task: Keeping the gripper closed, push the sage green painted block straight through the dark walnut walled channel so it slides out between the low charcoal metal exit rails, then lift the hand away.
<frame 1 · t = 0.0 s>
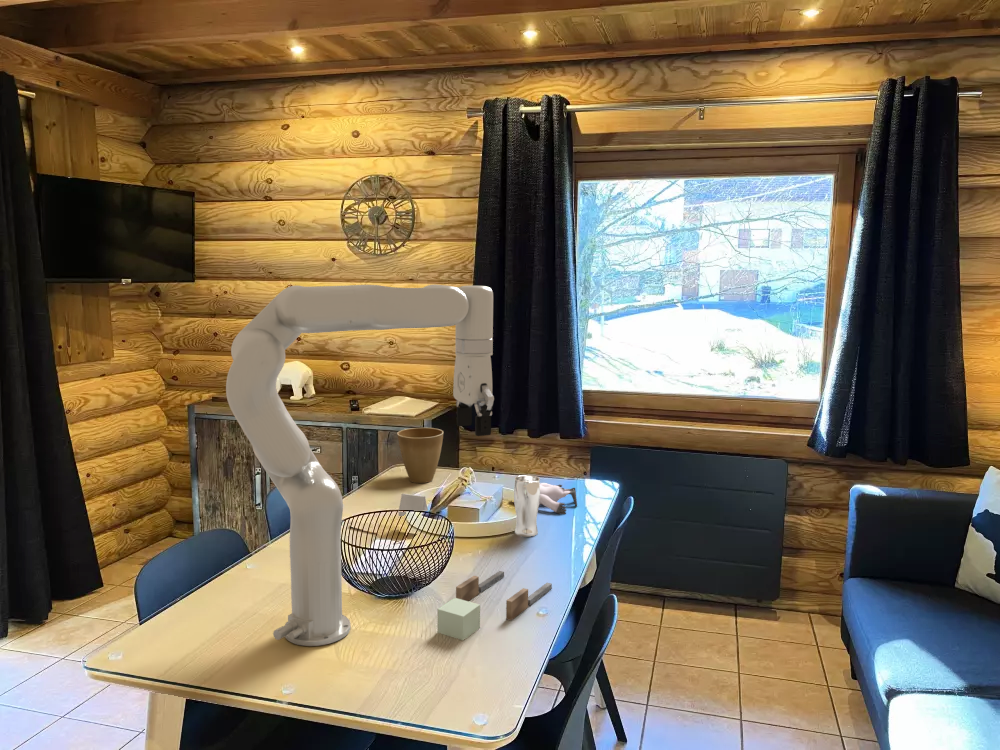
hand: (473, 430, 161), 37 cm above the table, tool pointing down, fingers open, 9 cm apart
walnut channel: (491, 606, 165), on the table
yeti figurine: (544, 504, 235), on the table
plant pot: (420, 480, 256), on the table
light grey tapered block: (413, 532, 209), on the table
exit rails: (514, 590, 173), on the table
sage block: (458, 630, 154), on the table
beer glass: (526, 533, 209), on the table
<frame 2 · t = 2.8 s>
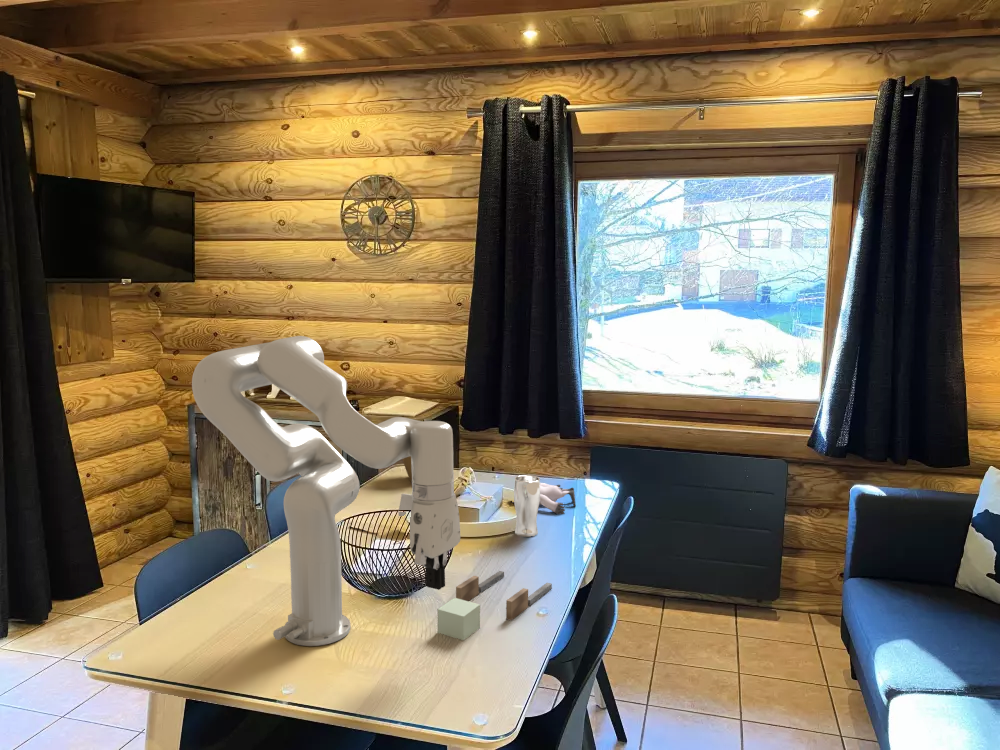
hand: (435, 586, 144), 12 cm above the table, tool pointing down, fingers closed
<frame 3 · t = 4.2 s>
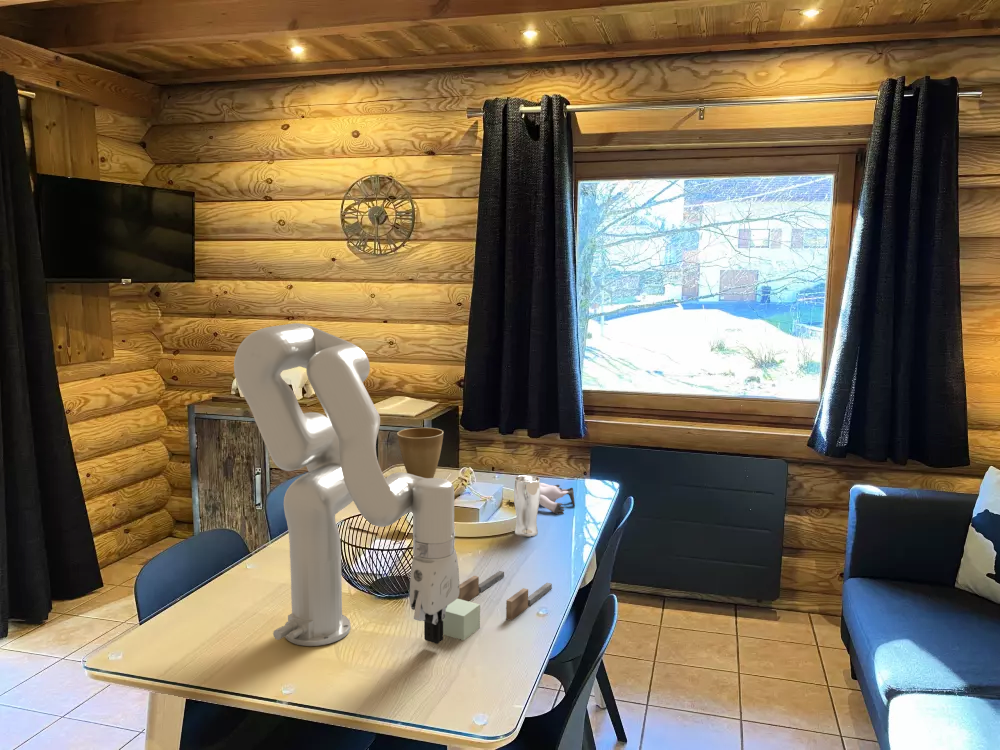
hand: (433, 640, 147), 2 cm above the table, tool pointing down, fingers closed
nothing on the table moved.
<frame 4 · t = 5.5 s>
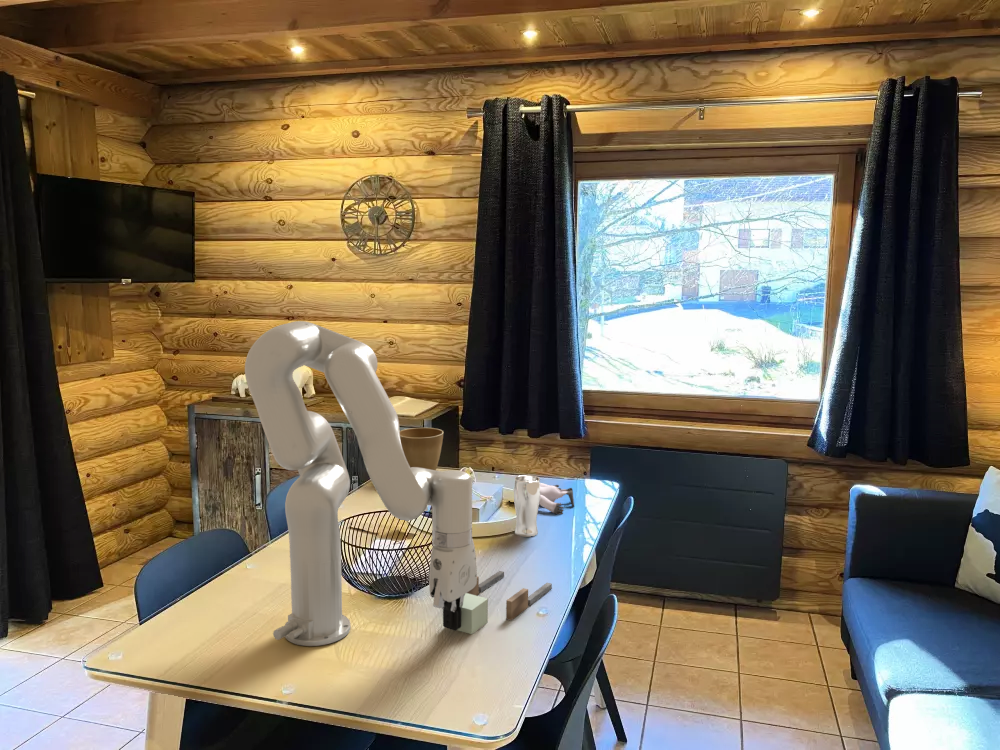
hand: (452, 627, 152), 2 cm above the table, tool pointing down, fingers closed
sage block: (466, 624, 156), on the table, touching gripper
everything else where it was.
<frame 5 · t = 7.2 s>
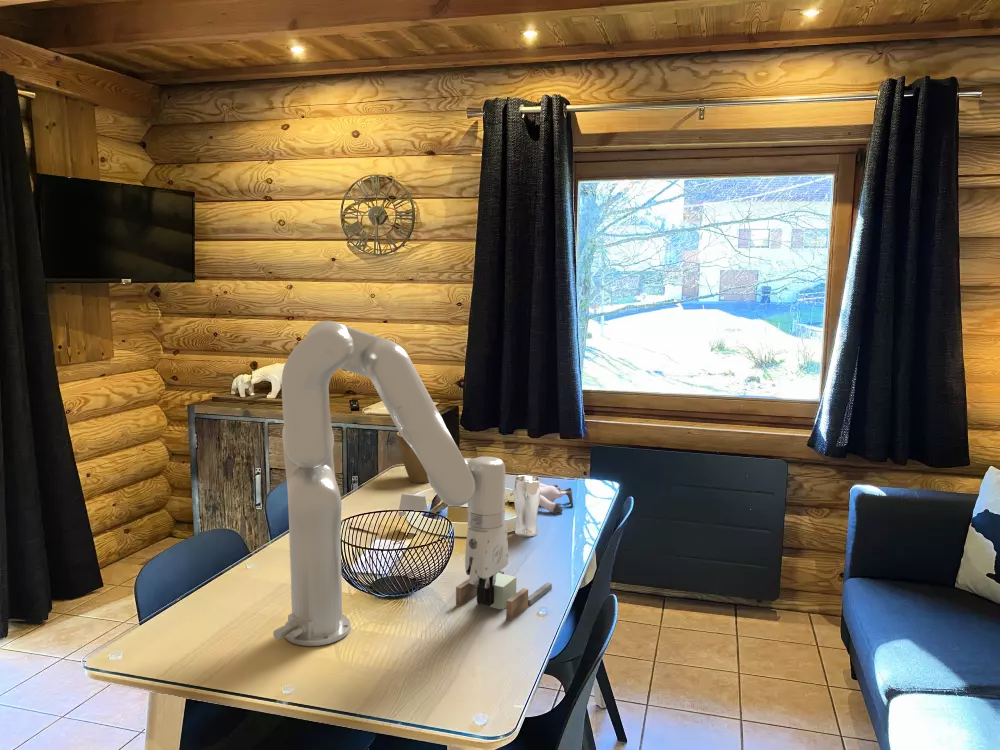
hand: (485, 603, 162), 2 cm above the table, tool pointing down, fingers closed
sage block: (497, 601, 167), on the table, touching gripper
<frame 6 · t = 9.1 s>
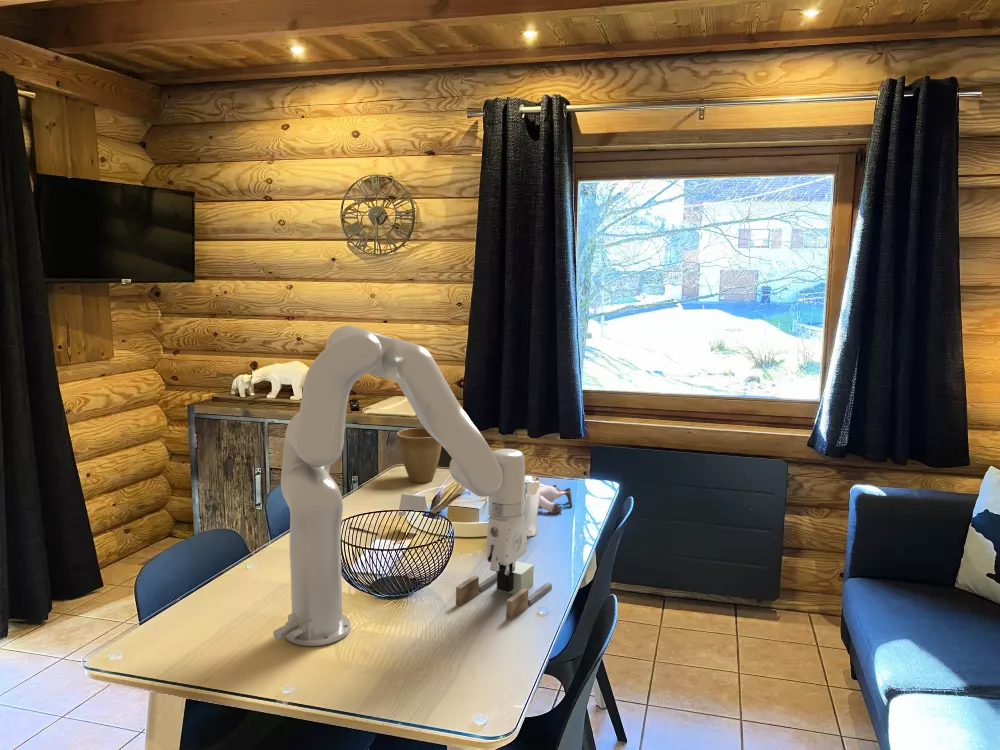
hand: (505, 589, 169), 2 cm above the table, tool pointing down, fingers closed
sage block: (515, 588, 174), on the table, touching gripper
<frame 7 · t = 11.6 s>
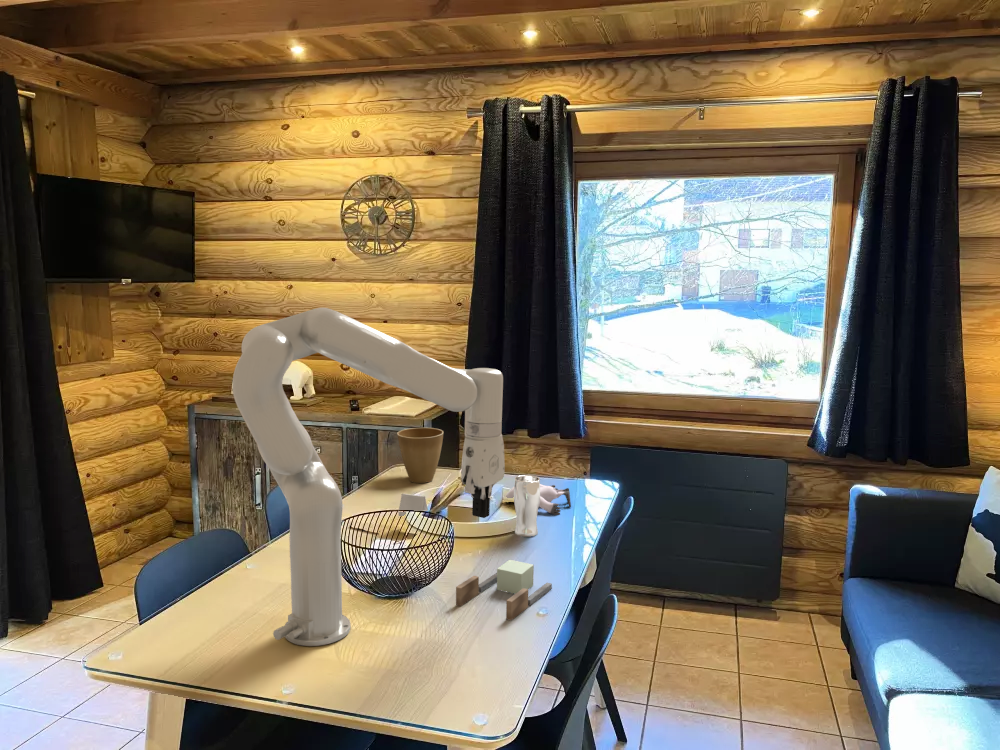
hand: (480, 515, 163), 19 cm above the table, tool pointing down, fingers closed
sage block: (515, 588, 174), on the table
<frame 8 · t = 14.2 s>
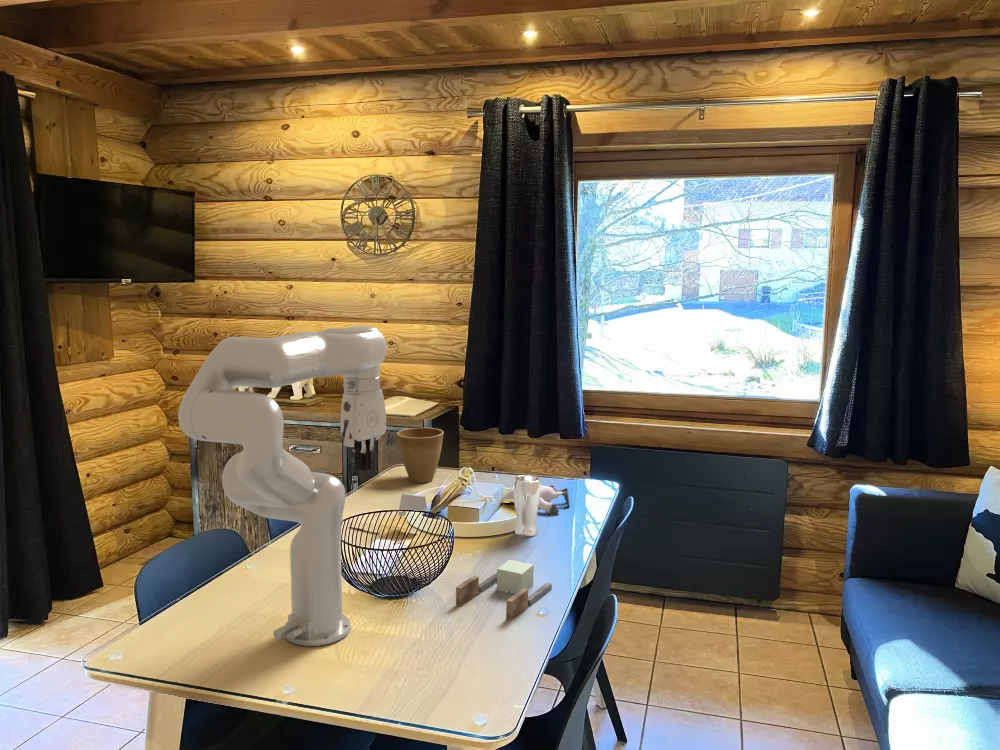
hand: (363, 469, 168), 27 cm above the table, tool pointing down, fingers closed
at the end: sage block inside the target area (0.5 cm from its centre), on the table; sage block tilted 0°; sage block moved 23.3 cm from its start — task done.
